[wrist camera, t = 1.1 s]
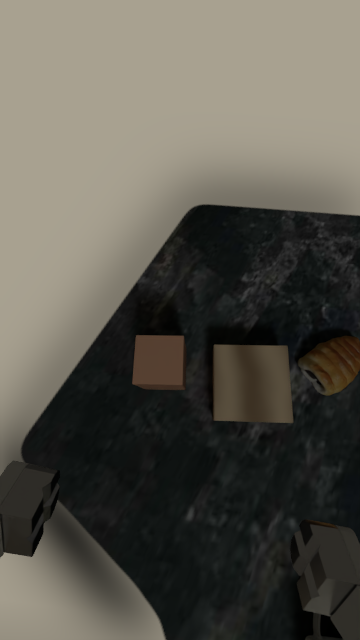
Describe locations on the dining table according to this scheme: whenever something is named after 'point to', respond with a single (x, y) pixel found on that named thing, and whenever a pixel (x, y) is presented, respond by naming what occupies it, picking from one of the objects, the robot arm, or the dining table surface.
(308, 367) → the pastry
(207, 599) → the dining table surface
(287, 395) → the oak base block
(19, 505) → the robot arm
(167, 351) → the reddish brown block
